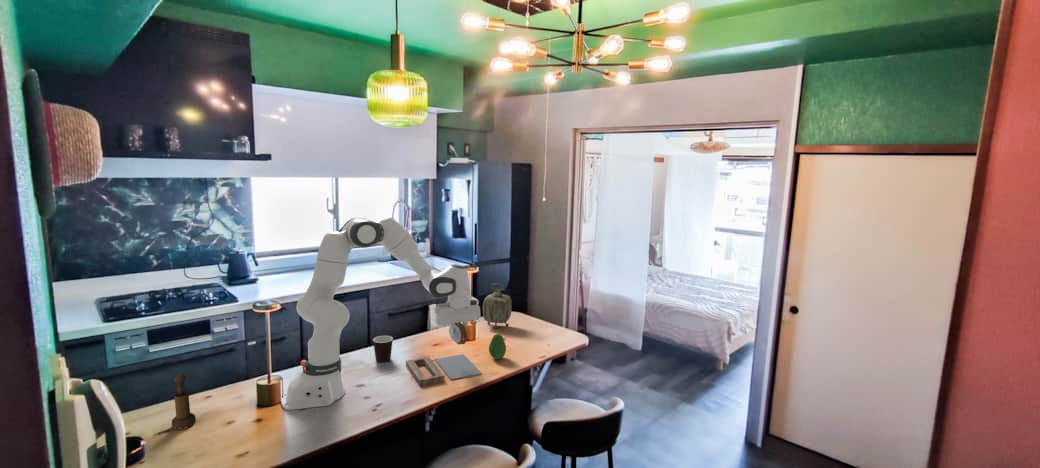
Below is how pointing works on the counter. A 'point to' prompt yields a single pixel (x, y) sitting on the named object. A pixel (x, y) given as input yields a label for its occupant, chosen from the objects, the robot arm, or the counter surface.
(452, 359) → the mat
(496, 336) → the avocado
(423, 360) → the frame
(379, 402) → the counter surface
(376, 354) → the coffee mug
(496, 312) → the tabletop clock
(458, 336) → the tin
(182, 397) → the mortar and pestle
